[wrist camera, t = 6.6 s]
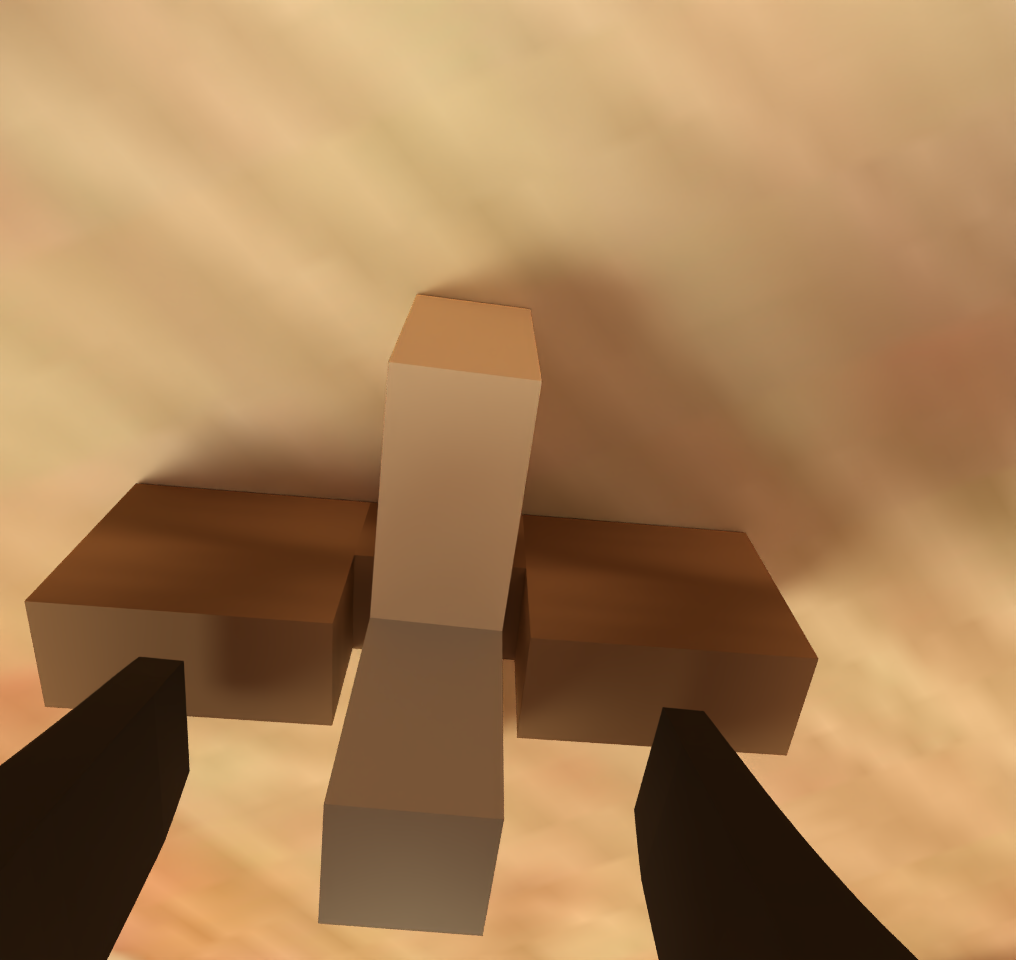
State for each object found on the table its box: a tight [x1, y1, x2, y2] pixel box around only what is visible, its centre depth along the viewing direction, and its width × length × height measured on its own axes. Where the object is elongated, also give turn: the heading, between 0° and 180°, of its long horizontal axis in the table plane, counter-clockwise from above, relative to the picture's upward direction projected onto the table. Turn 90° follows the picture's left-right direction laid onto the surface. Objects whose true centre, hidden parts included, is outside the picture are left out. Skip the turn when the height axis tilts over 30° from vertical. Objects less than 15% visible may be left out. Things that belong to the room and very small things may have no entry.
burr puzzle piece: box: [318, 294, 542, 936], centre depth 13 cm, size 10×2×8 cm, turn 172°
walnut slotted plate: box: [25, 483, 818, 755], centre depth 14 cm, size 12×2×4 cm, turn 84°
